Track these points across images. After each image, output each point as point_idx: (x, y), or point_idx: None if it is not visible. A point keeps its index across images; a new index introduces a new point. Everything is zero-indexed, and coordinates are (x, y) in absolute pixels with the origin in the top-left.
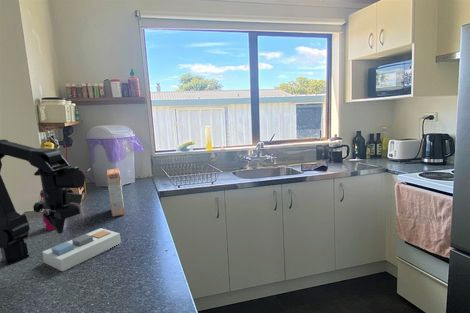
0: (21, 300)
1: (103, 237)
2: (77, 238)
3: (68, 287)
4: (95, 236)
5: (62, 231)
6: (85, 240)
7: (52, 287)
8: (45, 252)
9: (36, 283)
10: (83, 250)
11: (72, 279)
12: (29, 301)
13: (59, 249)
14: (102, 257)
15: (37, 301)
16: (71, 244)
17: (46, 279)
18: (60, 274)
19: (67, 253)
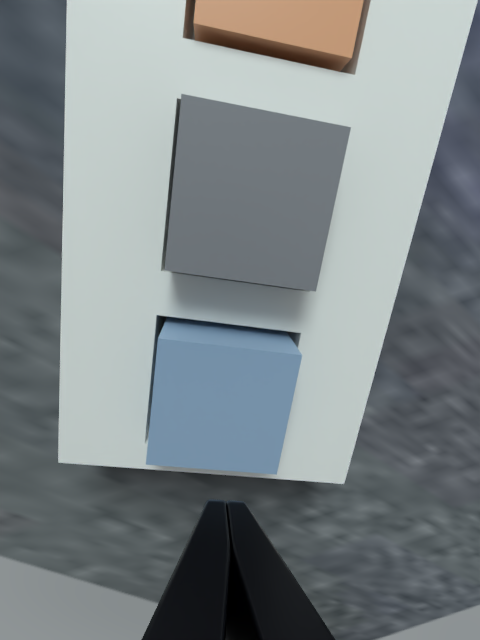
0: (346, 614)
1: (388, 22)
2: (207, 232)
3: (473, 501)
4: (286, 43)
5: (252, 515)
6: (326, 224)
7: (396, 526)
8: (102, 460)
9: (285, 537)
10: (384, 317)
11: (440, 456)
12: (386, 605)
13: (262, 460)
14: (440, 220)
15: (419, 594)
16: (281, 359)
17: (301, 503)
18: None
19: (309, 410)
